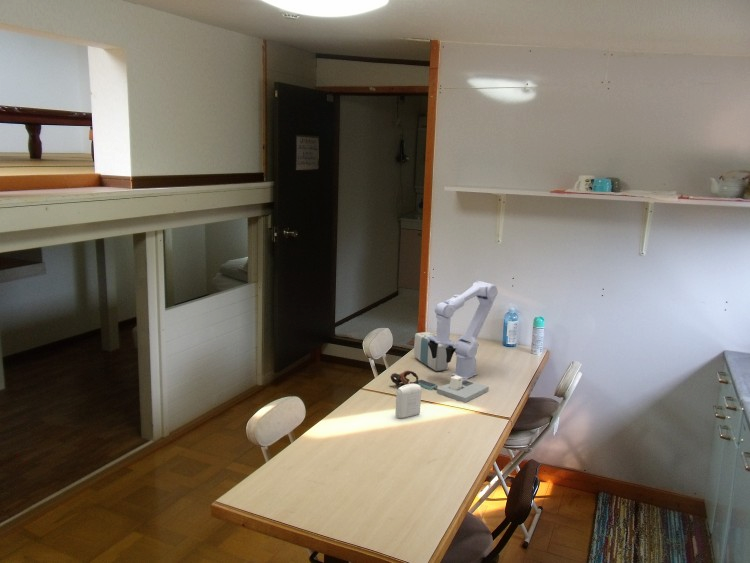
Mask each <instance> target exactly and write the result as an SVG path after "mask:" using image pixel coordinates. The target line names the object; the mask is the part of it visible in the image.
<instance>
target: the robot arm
mask: <svg viewBox="0 0 750 563" xmlns="http://www.w3.org/2000/svg"><path fill="white" fill-rule="evenodd" d="M497 296H498V287H497V285H496V284H495V283H489V282H486V281H485V282H484V281H482V280H476V281H475V282H473V283H472V286H471V287H469V288H468V289H467V290H466V291H464V292H462V293H461V294H453V295H452V296H451V297H450V298H449V299H446V300H445V301H444V302H442V301H441V302H439V303H438V304H436V306H435V308H434V312H435V315H436V332H435V333H436V334H435V335H436V337H433V336H429V337H428V341H430V342H429V343H428V346H429V347H430V350H431V353H432V358H433V359H434V358H436V356H437V348H438V344H443V345H446V346H449V347H447V348H446V354H447V358H446V362H447V363H448V364H449V363H451V360H452V358H453V355H454V353H455V356H456V360H455V361H456V362H455V372H453V373H451V376H452V377H453V376H455V375H457V376H460V377H462V378H463V379H466V380H469V379H470V378H472V377H475V376H476V375H478V373H477V372H476V370H477V369H476V368H477V359H476V355H477V353H478V347H479V343H478V340H477V338H478V336H479V334H480V332H481V331H482V329H483V326H484V323H485V321H486V320H487V318H488V315H489V314H490V311H491V309H492V307H493V304H494V303H495V300H496V298H497ZM475 297H476V299H477V300H478V302H479V305H478V307H477V308H476V310H475V313H474V315H473V317H472V319H471V320H470V323H469V325H468V327H467V329H466V332H465V334H463V335H459V337H458V339H457V340H456V341H452V340H451V339H450V331H451V318H452V317H453V316H454V314H455V312H456V311H457V310H459V309H460V308H462V307H464V305H465V302H467V301H470V300H471V299H474V298H475Z"/></svg>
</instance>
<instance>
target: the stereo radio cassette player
mask: <svg viewBox="0 0 750 563" xmlns="http://www.w3.org/2000/svg"><path fill="white" fill-rule="evenodd" d="M429 336H433V337H436V332H435V333H432V332H431V331H424V332H423V331H422V332H417V333H415V334H414V345H413V353H414V355H413V356H414V358H415V359H416V360H418V361H420V362H421V363H423V364H424V365H425V366H428V367H429V368H431V369H432V370H433V371H435V372H440V371H446V370H448V365H449V363H447V362H446V358H447V354H446V348H447V347H449V346H446V345H443V344H438V348H437V356H436V358H434V359H433V358H432V353H431V350H430V347H429V346H428V343H429V342H430V341H428V337H429Z"/></svg>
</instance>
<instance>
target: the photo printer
mask: <svg viewBox="0 0 750 563" xmlns="http://www.w3.org/2000/svg"><path fill="white" fill-rule="evenodd" d="M395 395H396V396H395V397H396V399H395V417H396V418H398V419H404V418H410V417H413V416H417V415H420V413H421V401H422V387H420V385H418V384H410V383H408V384H407V385H405V384H403V385H402V386H400V387H397V390H396V394H395Z"/></svg>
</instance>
